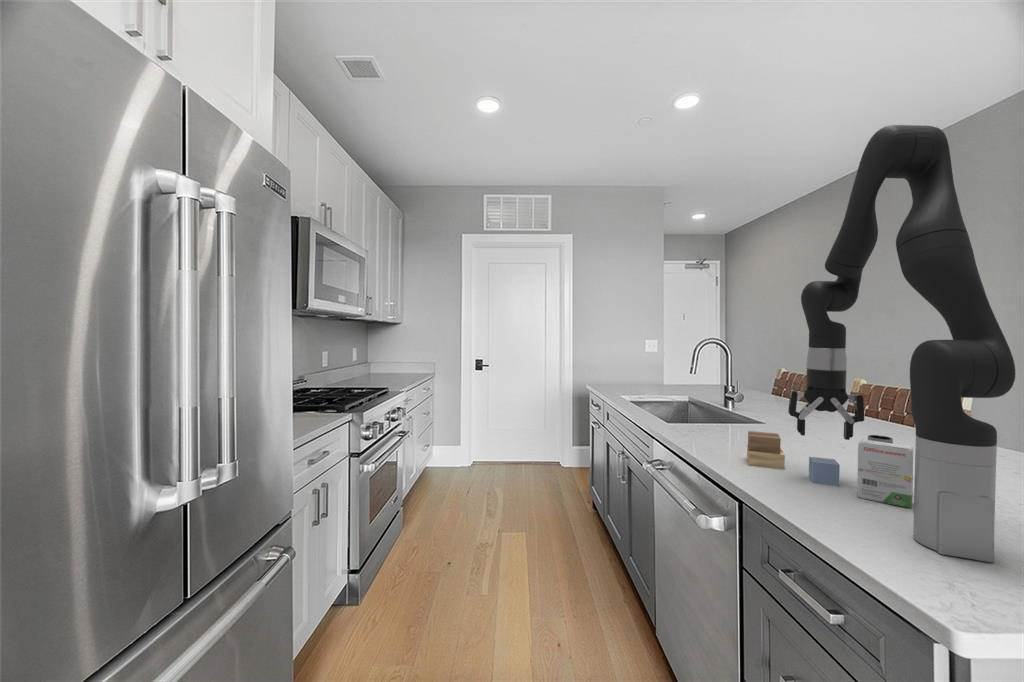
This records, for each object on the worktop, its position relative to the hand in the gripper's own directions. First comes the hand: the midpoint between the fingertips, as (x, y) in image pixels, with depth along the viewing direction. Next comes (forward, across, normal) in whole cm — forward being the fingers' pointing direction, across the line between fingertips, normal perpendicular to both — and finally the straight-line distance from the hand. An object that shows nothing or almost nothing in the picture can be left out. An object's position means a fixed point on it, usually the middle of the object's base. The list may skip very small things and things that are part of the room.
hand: (824, 436), depth 103 cm
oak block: (+11, -11, +10) cm, 18 cm away
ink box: (+10, +9, -9) cm, 16 cm away
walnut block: (+7, -12, +10) cm, 17 cm away
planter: (+11, +12, +6) cm, 17 cm away
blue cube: (+10, 0, 0) cm, 10 cm away
